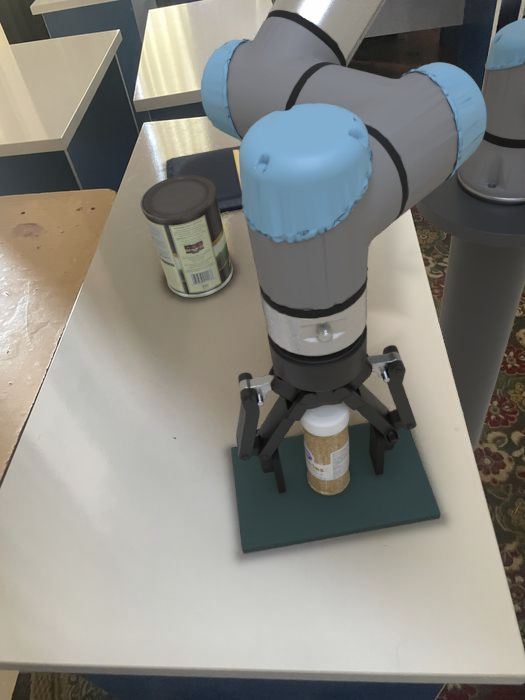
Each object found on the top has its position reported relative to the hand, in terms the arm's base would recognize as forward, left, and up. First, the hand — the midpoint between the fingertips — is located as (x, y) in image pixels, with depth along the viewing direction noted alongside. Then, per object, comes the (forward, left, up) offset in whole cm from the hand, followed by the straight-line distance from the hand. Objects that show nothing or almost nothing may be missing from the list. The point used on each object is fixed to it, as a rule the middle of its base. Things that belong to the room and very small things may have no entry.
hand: (328, 472), depth 59 cm
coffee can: (+12, -38, -2) cm, 40 cm away
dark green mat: (0, 0, -2) cm, 2 cm away
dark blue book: (+9, -63, -2) cm, 64 cm away
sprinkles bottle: (0, 0, -1) cm, 1 cm away
